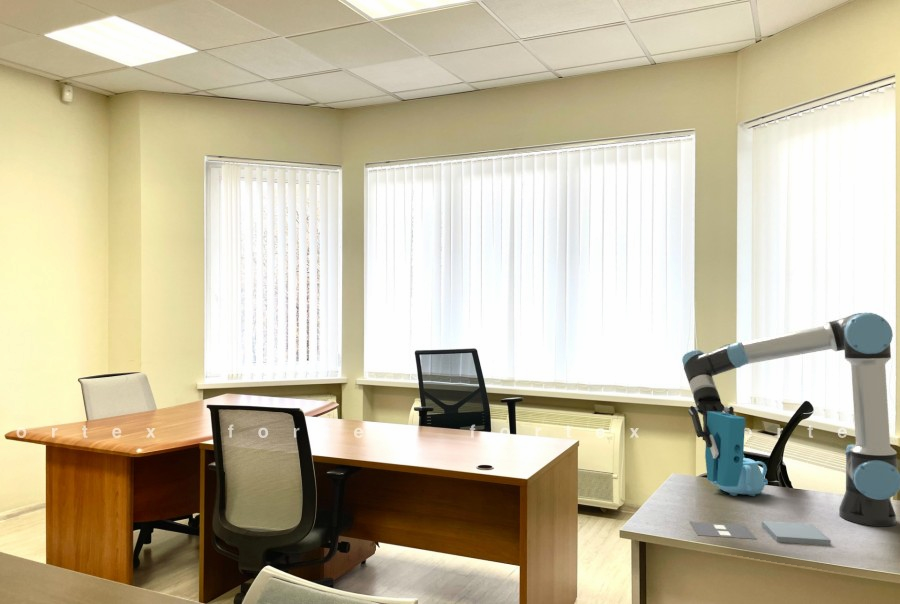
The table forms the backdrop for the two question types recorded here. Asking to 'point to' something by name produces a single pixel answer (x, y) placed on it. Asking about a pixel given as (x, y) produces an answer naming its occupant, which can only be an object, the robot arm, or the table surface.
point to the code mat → (722, 530)
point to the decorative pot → (748, 479)
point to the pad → (795, 533)
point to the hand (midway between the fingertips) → (726, 456)
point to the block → (725, 448)
